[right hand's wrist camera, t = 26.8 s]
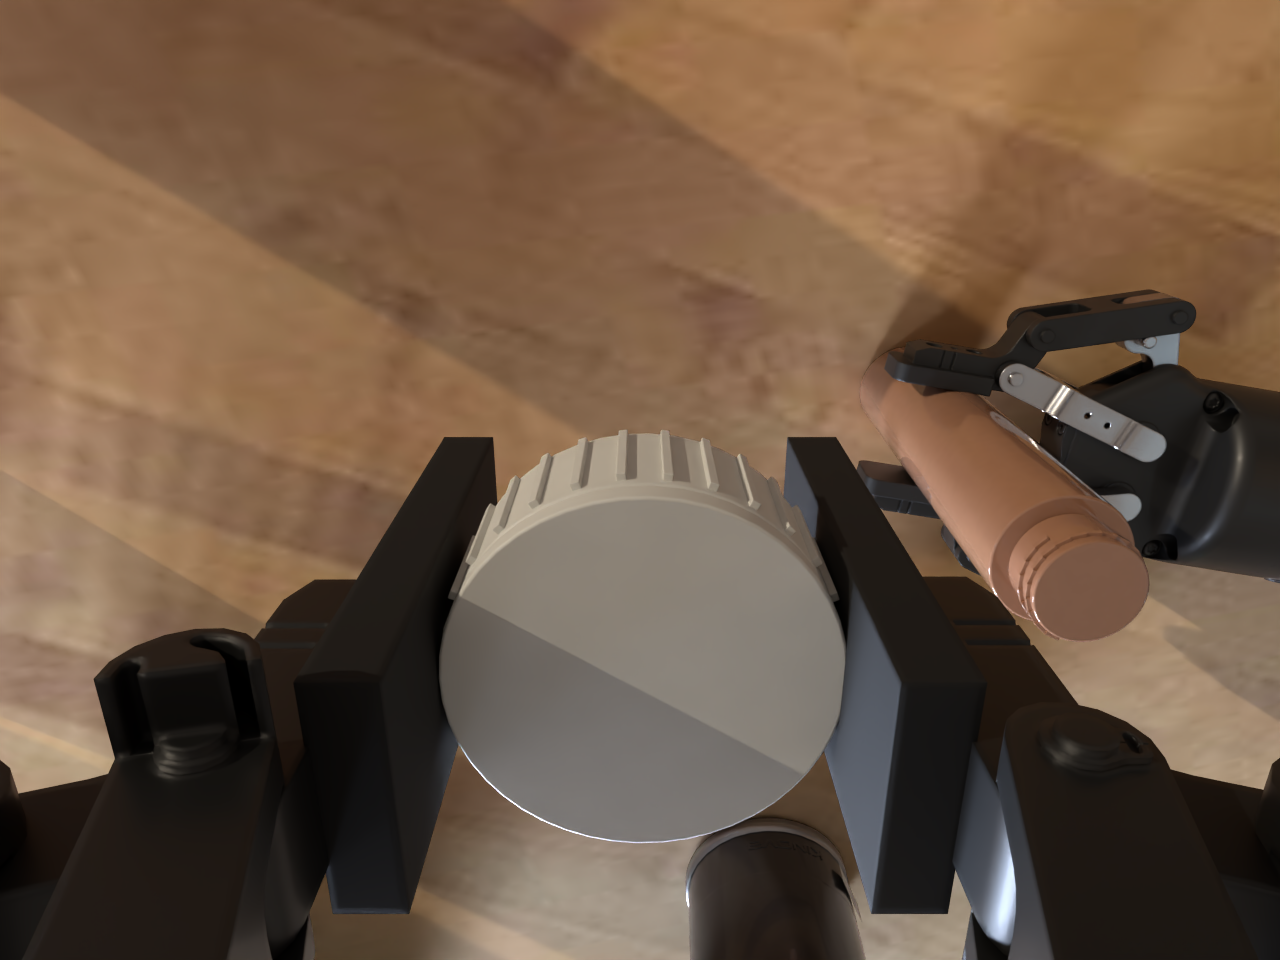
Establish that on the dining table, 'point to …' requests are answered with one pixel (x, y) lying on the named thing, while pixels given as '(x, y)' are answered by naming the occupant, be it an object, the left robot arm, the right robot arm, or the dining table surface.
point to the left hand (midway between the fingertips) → (877, 421)
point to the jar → (1012, 508)
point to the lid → (642, 641)
